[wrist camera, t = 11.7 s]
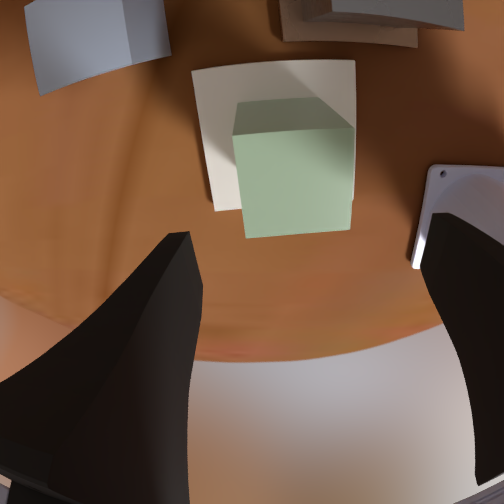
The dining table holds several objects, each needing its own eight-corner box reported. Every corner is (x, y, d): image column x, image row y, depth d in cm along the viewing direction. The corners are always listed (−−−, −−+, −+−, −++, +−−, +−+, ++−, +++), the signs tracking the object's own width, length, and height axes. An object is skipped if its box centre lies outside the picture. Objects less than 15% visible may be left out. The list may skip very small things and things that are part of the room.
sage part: (318, 97, 14) (354, 128, 10) (320, 169, 17) (349, 229, 12) (237, 102, 15) (232, 136, 10) (246, 174, 17) (245, 238, 12)
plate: (351, 59, 14) (355, 60, 13) (350, 194, 18) (353, 199, 18) (193, 70, 14) (191, 71, 14) (215, 206, 19) (215, 211, 18)
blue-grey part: (161, -14, 11) (117, -37, 6) (171, 55, 14) (132, 64, 9) (90, 9, 11) (24, 6, 7) (101, 74, 14) (39, 96, 9)
